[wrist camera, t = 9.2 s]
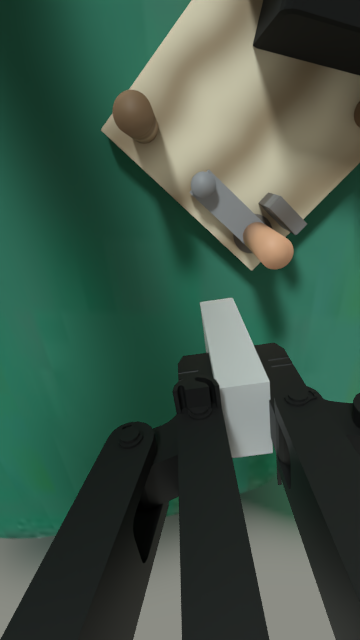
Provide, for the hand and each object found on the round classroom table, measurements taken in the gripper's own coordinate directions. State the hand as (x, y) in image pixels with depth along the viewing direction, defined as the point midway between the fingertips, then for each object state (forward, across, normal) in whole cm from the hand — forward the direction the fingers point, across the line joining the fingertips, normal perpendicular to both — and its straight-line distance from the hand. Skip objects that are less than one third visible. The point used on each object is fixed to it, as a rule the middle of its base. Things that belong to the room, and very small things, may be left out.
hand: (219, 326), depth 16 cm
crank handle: (+17, +3, +3) cm, 18 cm away
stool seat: (+20, +6, +9) cm, 23 cm away
